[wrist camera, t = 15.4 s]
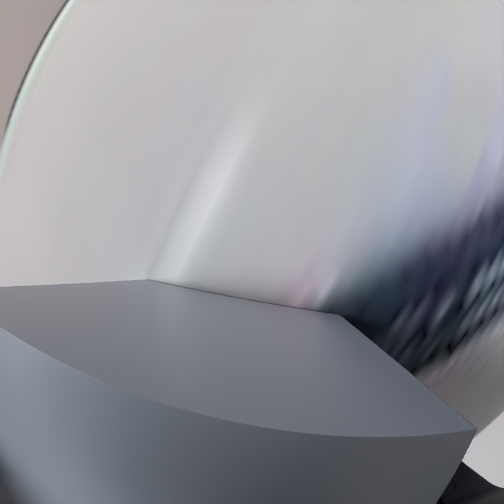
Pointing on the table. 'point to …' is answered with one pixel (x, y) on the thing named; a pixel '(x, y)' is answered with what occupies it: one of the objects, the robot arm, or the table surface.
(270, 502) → the grey cube
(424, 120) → the table surface
